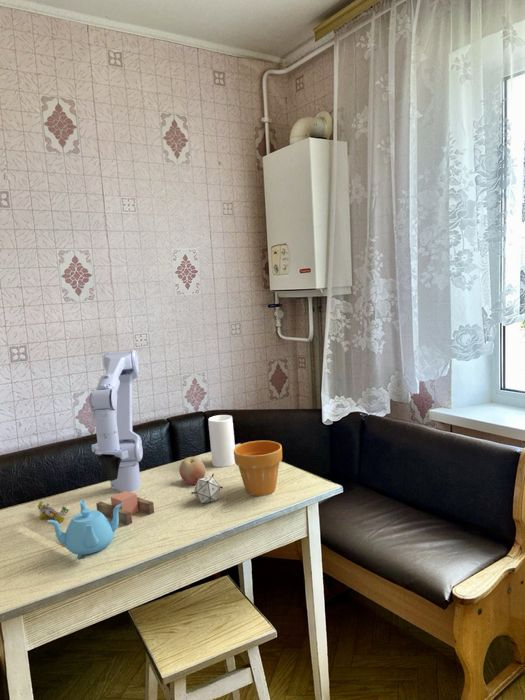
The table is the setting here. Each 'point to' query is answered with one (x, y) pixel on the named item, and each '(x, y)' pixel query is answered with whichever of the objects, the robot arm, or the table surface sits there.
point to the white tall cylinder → (222, 440)
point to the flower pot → (258, 465)
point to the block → (126, 501)
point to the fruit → (192, 470)
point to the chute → (123, 514)
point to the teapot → (87, 531)
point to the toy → (51, 512)
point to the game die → (206, 489)
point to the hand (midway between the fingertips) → (112, 479)
